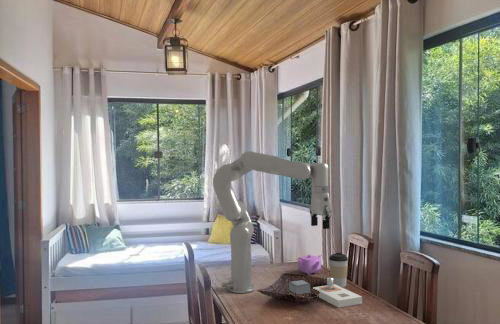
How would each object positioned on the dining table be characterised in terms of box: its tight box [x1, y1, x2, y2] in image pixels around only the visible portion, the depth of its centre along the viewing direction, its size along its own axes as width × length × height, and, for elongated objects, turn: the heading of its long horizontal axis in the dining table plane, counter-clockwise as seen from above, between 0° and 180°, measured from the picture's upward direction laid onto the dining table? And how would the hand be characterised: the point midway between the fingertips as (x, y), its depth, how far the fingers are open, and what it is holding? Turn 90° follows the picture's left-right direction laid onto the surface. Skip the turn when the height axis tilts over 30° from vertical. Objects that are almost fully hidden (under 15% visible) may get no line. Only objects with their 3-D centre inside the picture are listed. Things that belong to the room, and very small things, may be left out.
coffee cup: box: [328, 252, 349, 288], centre depth 214 cm, size 9×9×15 cm
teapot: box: [296, 254, 323, 276], centre depth 236 cm, size 18×13×10 cm
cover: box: [288, 279, 311, 294], centre depth 197 cm, size 7×7×6 cm
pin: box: [326, 276, 333, 290], centre depth 198 cm, size 3×3×8 cm
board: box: [312, 284, 363, 309], centre depth 193 cm, size 12×20×3 cm, turn 24°
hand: (320, 227), depth 201 cm, fingers open, 9 cm apart
